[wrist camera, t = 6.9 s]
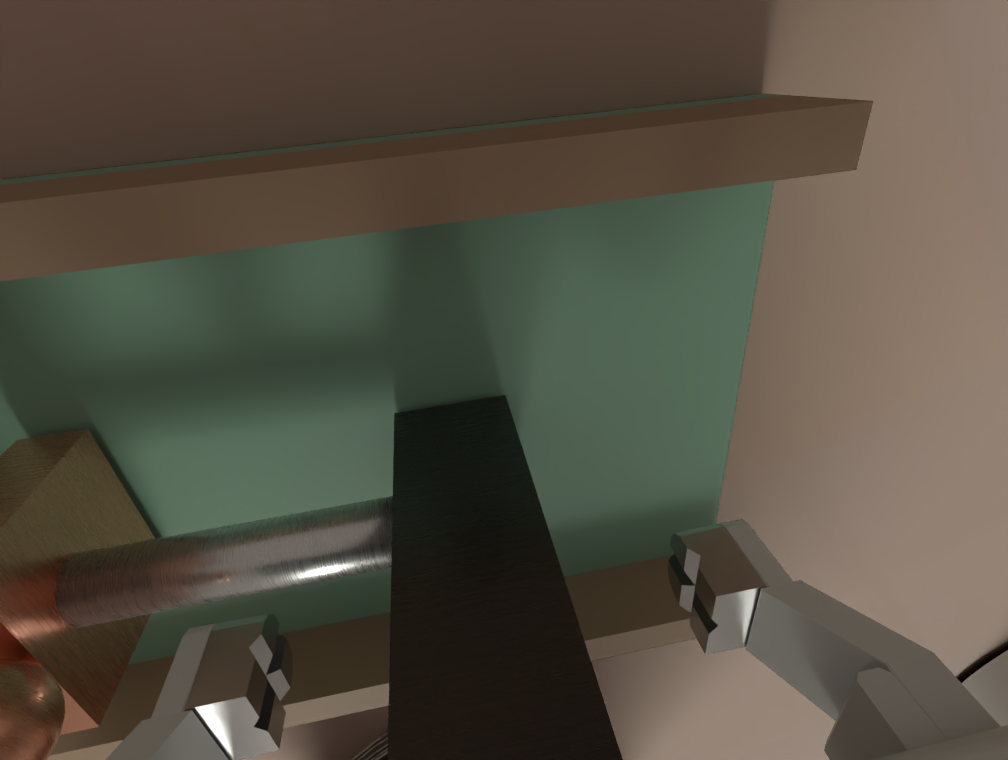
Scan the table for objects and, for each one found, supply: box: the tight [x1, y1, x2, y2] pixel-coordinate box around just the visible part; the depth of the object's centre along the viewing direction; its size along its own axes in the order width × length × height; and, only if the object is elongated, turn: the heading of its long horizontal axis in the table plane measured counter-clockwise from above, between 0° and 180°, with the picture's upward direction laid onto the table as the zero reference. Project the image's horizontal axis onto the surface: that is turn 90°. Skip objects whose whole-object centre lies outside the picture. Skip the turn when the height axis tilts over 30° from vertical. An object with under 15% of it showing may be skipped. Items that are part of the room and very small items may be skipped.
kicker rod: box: [0, 395, 623, 760], centre depth 11 cm, size 12×5×9 cm, turn 95°
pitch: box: [0, 94, 873, 760], centre depth 12 cm, size 27×16×8 cm, turn 95°
